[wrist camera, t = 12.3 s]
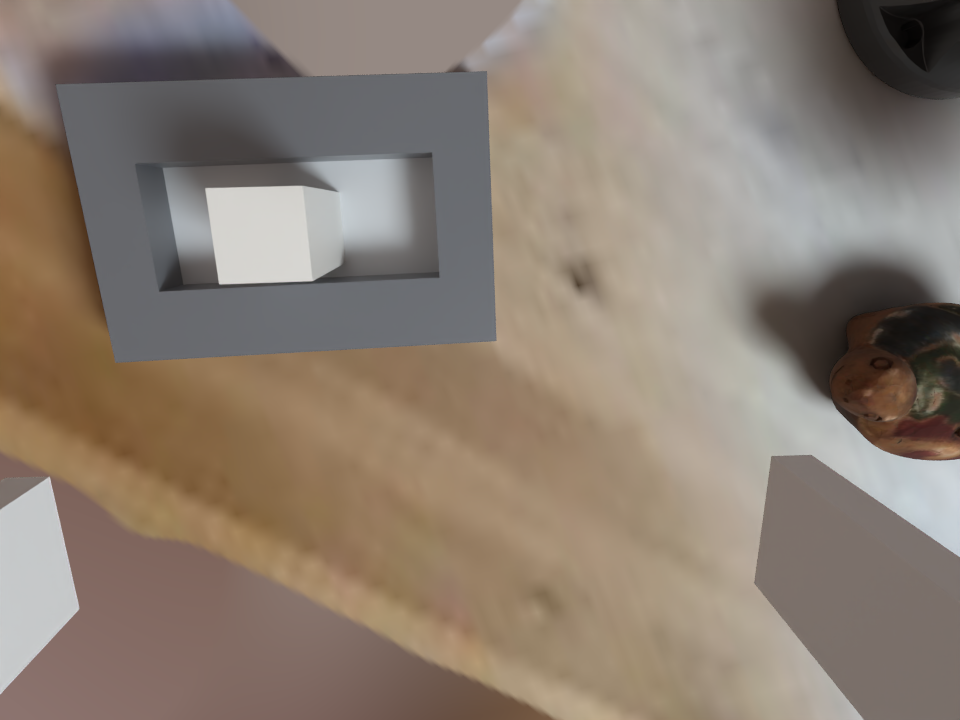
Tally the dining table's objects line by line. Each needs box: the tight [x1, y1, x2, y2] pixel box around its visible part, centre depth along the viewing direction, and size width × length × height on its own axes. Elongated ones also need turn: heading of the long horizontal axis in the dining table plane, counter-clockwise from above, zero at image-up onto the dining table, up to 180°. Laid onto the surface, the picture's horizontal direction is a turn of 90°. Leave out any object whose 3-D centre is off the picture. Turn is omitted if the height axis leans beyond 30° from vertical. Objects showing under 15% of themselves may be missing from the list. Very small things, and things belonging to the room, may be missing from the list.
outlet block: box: [55, 71, 496, 363], centre depth 32 cm, size 21×14×4 cm, turn 92°
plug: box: [205, 186, 346, 284], centre depth 29 cm, size 4×4×9 cm
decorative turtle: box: [829, 303, 960, 460], centre depth 35 cm, size 10×15×8 cm, turn 91°
